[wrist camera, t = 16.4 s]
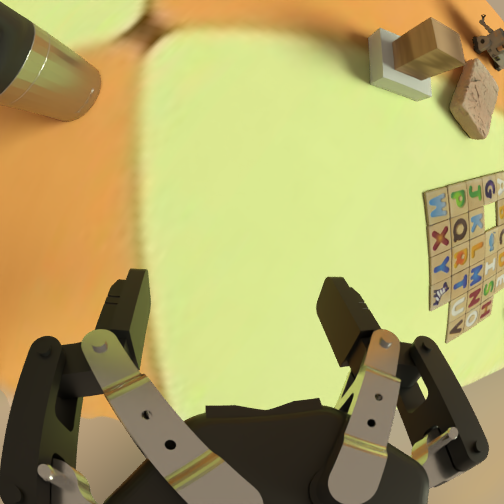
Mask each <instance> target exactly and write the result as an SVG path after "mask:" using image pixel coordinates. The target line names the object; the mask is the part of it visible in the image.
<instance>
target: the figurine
mask: <svg viewBox="0 0 504 504" xmlns="http://www.w3.org/2000/svg"><path fill="white" fill-rule="evenodd" d="M483 15H484V14H483ZM481 16H482V15H481ZM485 16H486V15H484V16H482V20H480V21H479V23H480V24H482V25H483V26H484V27H485V29H486V30H488V32H489V33H490V34H489V35H487V36H479V37H473V43H474V50H475V51H476V52H477V53H478V54H480V53H482V51H485V50H487V52H488V53H489V55H490V56H491V58H492V59H493V60H494V65H495V66H494V67H495V69H496V70H497V71H500V70H501V69H504V31H503V30H502V29H501V28H499V29H497V30H496V31H493V30H492V29H491V28H490V27H489V26H488V25H486V24H485V22H484V17H485Z"/></svg>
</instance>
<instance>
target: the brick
mask: <svg viewBox="0 0 504 504" xmlns="http://www.w3.org/2000/svg"><path fill="white" fill-rule="evenodd" d="M465 64H466V65H464V66H463V73H462V74H461V75H460V79H459V81H458V84H457V86H456V87H457V88H456V89H455V91H454V94H453V97H452V99H451V103H450V106H449V107H450V111H451V112H452V114H453V116H454V118H455V119H456V120H457V122H459V124H460V125H461V126H462V128H463V130H464V131H465V132H466V133H467V134H468V136H469V137H470V138H471V139H477V140H479V139H485V138H486V137H487V135H488V133H489V128H490V123H491V115H492V114H493V111H494V108H495V104H496V101H497V96H498V91H499V88H498V85H497V83H496V81H495V80H494V78H493V76H491V75H490V73H489V71H488V70H487V69H486V67H485V66H484V65H483V64H482V63H481V61H480V60H479V59H478V58H477V59H473V60H472V59H471V60H469V61H467V62H465Z"/></svg>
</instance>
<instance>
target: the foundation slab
mask: <svg viewBox="0 0 504 504" xmlns="http://www.w3.org/2000/svg"><path fill="white" fill-rule="evenodd" d="M399 37H401V36H398V35H396V34H394V33H391V32H389V31H387V30H384V29H382V28H379V29H378V30H377V31H375V32H374V33H373V34H372V35H371V36H370V37H368V42H369V62H370V85H373V86H376V87H379V88H382V89H385V90H388V91H391V92H394V93H397V94H399V95H402V96H405V97H407V98H410V99H412V100H415V101H420V100H423V99H426V98H430V97H432V92H431V78H427V79H425V80H422V81H421V80H418V79H416V78H414V77H411V76H409V75H406V74H404V73H401V72H399V71H396V70H394V58H393V48H392V42H393V41H395V40H396V39H398V38H399Z"/></svg>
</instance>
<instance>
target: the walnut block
mask: <svg viewBox="0 0 504 504" xmlns="http://www.w3.org/2000/svg"><path fill="white" fill-rule="evenodd" d="M392 48H393V58H394V70H396V71H399V72H401V73H404V74H406V75H409V76H411V77H414V78H416V79H418V80H421V81H422V80H425V79H427V78H430V77H432V76H435V75H438V74H441V73H443V72H446V71H449V70H452V69H455V68H458V67H461V66H464V65H466V64H465V59H464V54H463V49H462V44H461V40H460V36H459V34H458V33H457V32H455V31H453V30H452V29H450V28H449V27H447V26H445V25H444V24H442V23H440V22H439V21H437V20H435V19H433V18H432V17H430V18H429V19H427V20H425V21H424V22H422V23H421V24H419V25H417V26H416V27H414V28H413V29H411V30H410V31H408V32H407V33H405V34H404V35H402V36H401V37H399V38H398V39H396V40H395V41H393V42H392Z"/></svg>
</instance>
